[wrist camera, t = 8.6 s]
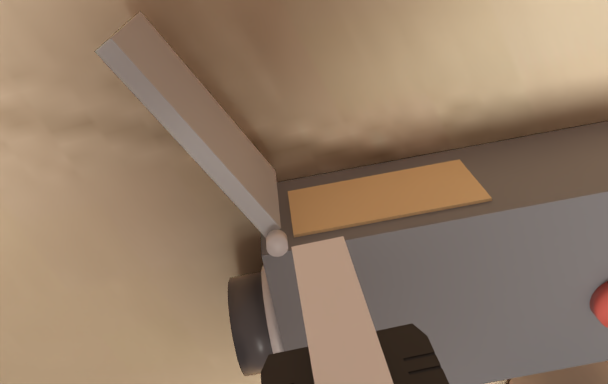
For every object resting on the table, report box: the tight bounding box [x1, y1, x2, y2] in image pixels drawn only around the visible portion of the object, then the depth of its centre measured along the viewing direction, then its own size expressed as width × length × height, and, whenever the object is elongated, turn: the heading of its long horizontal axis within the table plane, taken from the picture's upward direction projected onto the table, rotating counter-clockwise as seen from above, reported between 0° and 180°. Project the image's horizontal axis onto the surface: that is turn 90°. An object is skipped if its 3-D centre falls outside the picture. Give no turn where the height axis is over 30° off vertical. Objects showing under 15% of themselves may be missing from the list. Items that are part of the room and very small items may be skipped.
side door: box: [94, 11, 281, 238], centre depth 25 cm, size 10×1×6 cm, turn 36°
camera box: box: [228, 121, 608, 384], centre depth 29 cm, size 22×11×8 cm, turn 99°
